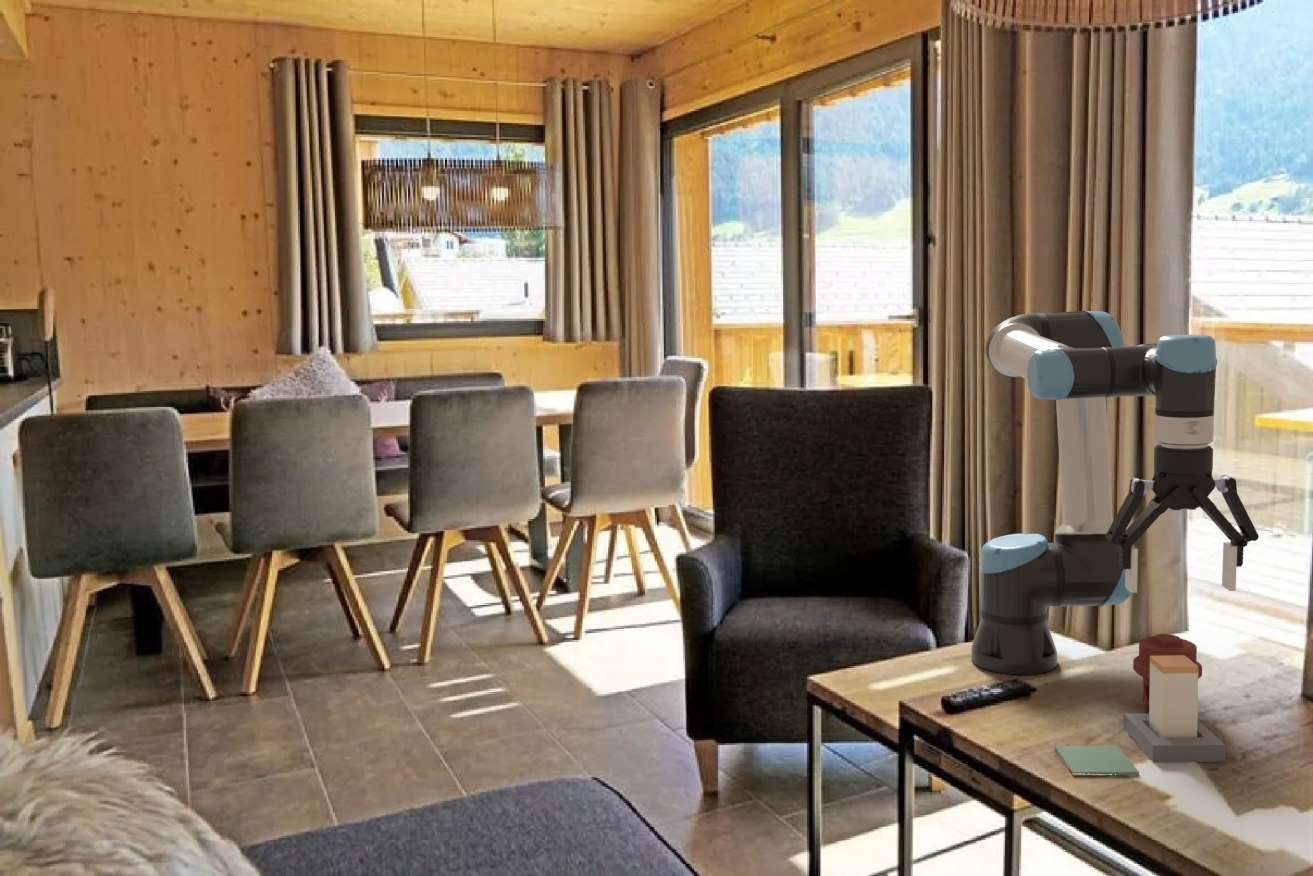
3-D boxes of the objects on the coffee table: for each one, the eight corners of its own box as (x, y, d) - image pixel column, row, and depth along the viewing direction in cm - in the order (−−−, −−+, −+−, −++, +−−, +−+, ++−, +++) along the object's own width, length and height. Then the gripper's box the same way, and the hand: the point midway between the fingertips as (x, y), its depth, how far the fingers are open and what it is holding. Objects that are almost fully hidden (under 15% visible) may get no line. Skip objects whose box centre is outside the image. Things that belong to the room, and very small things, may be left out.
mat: (1054, 749, 160) (1054, 746, 160) (1117, 749, 159) (1117, 745, 159) (1073, 776, 151) (1073, 772, 151) (1139, 775, 150) (1139, 771, 150)
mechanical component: (1191, 701, 176) (1209, 725, 167) (1126, 699, 178) (1140, 722, 169) (1192, 628, 175) (1211, 648, 165) (1127, 627, 177) (1141, 646, 167)
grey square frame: (1123, 729, 166) (1124, 713, 166) (1190, 728, 166) (1191, 713, 165) (1152, 762, 155) (1153, 745, 154) (1225, 761, 154) (1225, 745, 153)
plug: (1148, 738, 163) (1150, 655, 161) (1183, 738, 162) (1184, 655, 161) (1161, 752, 158) (1162, 666, 156) (1196, 751, 157) (1198, 666, 156)
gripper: (1101, 451, 149) (1099, 598, 152) (1288, 445, 147) (1282, 595, 150) (1084, 443, 157) (1082, 583, 160) (1263, 437, 155) (1257, 580, 158)
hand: (1179, 589), depth 155 cm, fingers open, 13 cm apart
